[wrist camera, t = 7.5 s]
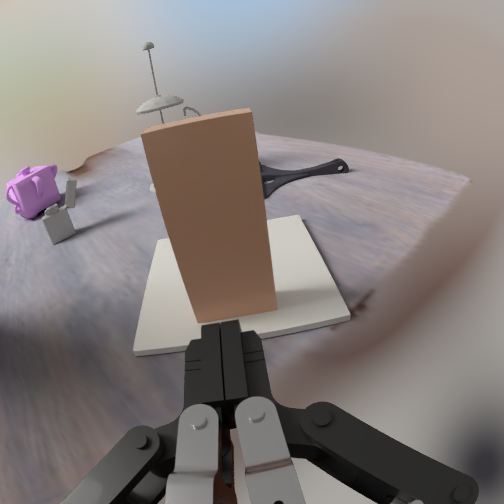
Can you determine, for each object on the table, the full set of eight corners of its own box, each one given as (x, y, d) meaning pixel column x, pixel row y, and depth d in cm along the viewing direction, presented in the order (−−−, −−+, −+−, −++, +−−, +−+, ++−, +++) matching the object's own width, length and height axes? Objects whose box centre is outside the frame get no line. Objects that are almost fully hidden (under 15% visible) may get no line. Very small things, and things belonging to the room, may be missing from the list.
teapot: (8, 219, 57) (-7, 181, 51) (52, 192, 66) (39, 155, 61) (26, 230, 48) (7, 182, 42) (80, 196, 57) (66, 151, 51)
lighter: (53, 245, 40) (33, 197, 35) (52, 241, 41) (33, 194, 37) (92, 224, 43) (75, 176, 39) (90, 221, 44) (74, 174, 40)
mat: (135, 356, 21) (132, 351, 21) (159, 244, 35) (157, 240, 34) (350, 320, 22) (350, 314, 21) (298, 219, 35) (298, 214, 35)
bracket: (362, 193, 41) (362, 174, 39) (253, 204, 41) (250, 185, 40) (335, 162, 53) (335, 147, 51) (252, 170, 54) (250, 155, 52)
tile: (197, 323, 23) (140, 134, 15) (198, 304, 25) (148, 127, 17) (277, 309, 23) (252, 111, 15) (272, 291, 25) (247, 107, 17)
